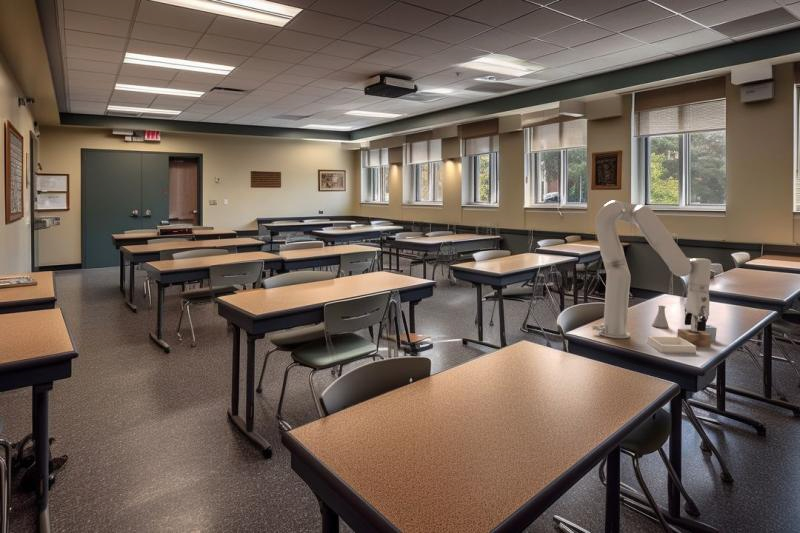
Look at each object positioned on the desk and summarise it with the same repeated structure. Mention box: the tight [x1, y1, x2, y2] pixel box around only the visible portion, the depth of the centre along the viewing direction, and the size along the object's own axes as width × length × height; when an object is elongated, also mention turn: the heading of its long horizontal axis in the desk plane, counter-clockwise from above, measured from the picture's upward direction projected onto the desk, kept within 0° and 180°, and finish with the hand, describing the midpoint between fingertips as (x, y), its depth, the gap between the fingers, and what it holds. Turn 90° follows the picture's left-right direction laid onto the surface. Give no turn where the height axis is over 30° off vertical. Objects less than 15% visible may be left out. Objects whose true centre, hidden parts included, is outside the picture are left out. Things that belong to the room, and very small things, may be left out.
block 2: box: [704, 324, 718, 342], centre depth 210 cm, size 5×5×6 cm
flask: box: [651, 305, 670, 329], centre depth 231 cm, size 7×7×10 cm
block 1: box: [676, 328, 712, 348], centre depth 204 cm, size 9×9×5 cm
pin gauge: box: [690, 315, 699, 333], centre depth 204 cm, size 3×3×12 cm
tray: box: [646, 335, 697, 355], centre depth 197 cm, size 13×13×3 cm
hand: (694, 327), depth 203 cm, fingers open, 9 cm apart
